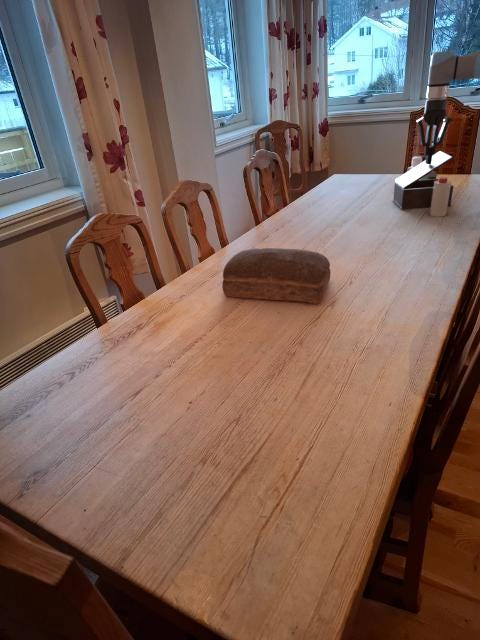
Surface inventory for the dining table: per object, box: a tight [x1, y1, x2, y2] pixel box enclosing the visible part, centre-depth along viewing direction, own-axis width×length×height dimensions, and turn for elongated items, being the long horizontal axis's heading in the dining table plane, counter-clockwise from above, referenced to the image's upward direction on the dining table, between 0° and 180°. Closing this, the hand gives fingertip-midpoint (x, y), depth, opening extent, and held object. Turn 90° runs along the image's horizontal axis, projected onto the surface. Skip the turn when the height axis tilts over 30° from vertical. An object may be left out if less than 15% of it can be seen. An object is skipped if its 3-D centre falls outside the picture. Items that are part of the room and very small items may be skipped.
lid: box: [394, 150, 454, 189], centre depth 176 cm, size 20×14×1 cm
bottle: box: [429, 176, 452, 217], centre depth 166 cm, size 6×6×14 cm
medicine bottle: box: [406, 155, 426, 180], centre depth 212 cm, size 7×7×12 cm
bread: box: [222, 247, 331, 304], centre depth 123 cm, size 17×29×11 cm, turn 70°
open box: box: [392, 178, 454, 211], centre depth 181 cm, size 20×14×8 cm
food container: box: [421, 170, 438, 180], centre depth 195 cm, size 12×6×10 cm, turn 168°
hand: (428, 163), depth 175 cm, fingers closed
